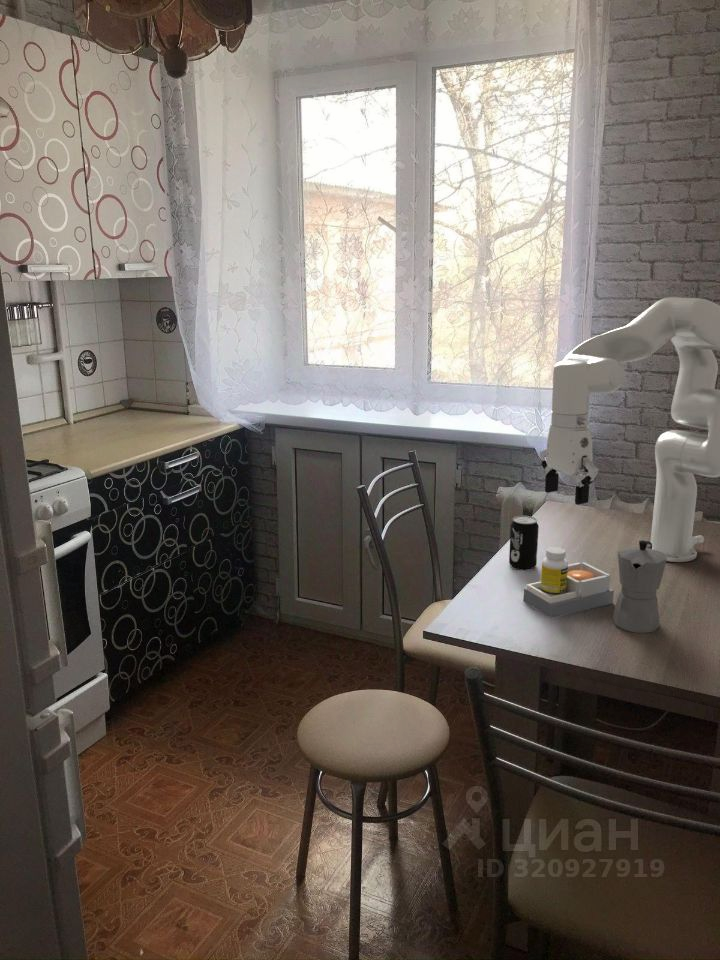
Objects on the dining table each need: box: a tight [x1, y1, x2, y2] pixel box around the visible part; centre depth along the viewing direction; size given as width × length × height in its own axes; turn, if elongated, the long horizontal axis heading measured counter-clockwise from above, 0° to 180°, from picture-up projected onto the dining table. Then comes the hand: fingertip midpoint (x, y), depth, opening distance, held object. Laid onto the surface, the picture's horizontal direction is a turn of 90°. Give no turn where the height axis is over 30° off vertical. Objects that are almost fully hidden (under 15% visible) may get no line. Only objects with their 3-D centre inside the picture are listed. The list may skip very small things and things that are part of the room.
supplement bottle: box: [540, 546, 569, 597], centre depth 166 cm, size 5×5×10 cm
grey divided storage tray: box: [522, 561, 615, 619], centre depth 169 cm, size 17×10×6 cm, turn 115°
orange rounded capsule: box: [567, 570, 594, 590], centre depth 170 cm, size 6×6×5 cm
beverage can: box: [508, 515, 540, 571], centre depth 189 cm, size 7×7×12 cm
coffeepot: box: [612, 540, 668, 634], centre depth 158 cm, size 15×9×18 cm, turn 151°
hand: (566, 497), depth 169 cm, fingers open, 9 cm apart
